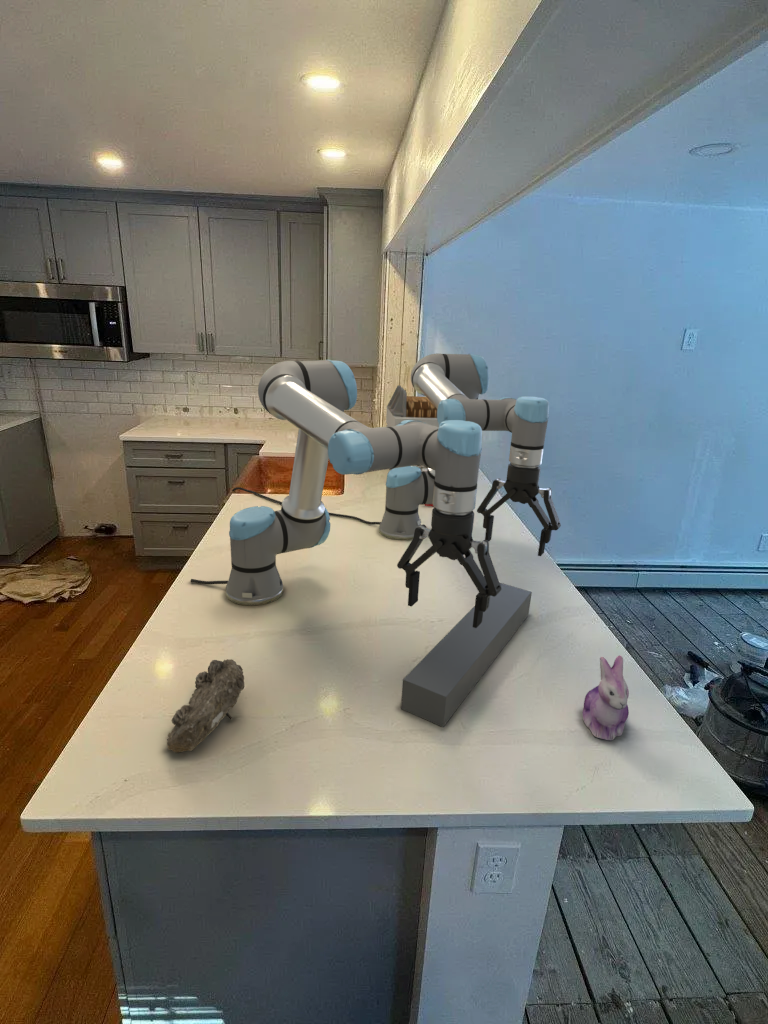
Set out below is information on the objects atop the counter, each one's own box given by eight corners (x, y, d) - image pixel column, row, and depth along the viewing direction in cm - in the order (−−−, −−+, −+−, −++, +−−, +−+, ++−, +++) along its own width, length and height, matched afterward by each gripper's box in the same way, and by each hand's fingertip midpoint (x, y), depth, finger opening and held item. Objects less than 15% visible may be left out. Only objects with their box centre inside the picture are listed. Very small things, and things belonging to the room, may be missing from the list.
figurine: (608, 750, 104) (623, 681, 99) (567, 715, 113) (579, 651, 107) (643, 734, 108) (659, 668, 103) (601, 702, 117) (614, 640, 112)
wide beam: (494, 604, 154) (497, 581, 152) (528, 615, 150) (531, 591, 148) (400, 708, 113) (402, 679, 110) (443, 727, 108) (446, 697, 106)
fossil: (192, 660, 117) (244, 628, 112) (224, 691, 120) (276, 661, 115) (142, 746, 98) (202, 712, 93) (182, 779, 101) (242, 748, 96)
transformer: (382, 463, 289) (386, 382, 275) (445, 464, 293) (451, 384, 279) (390, 482, 257) (394, 392, 243) (460, 483, 261) (468, 394, 247)
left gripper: (382, 500, 104) (378, 602, 111) (513, 531, 92) (499, 643, 99) (403, 490, 110) (397, 588, 117) (528, 518, 98) (513, 625, 105)
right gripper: (469, 458, 136) (461, 540, 143) (574, 477, 124) (560, 565, 131) (481, 452, 142) (472, 531, 149) (582, 470, 130) (568, 554, 137)
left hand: (444, 613), depth 108 cm, fingers open, 13 cm apart
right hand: (513, 547), depth 140 cm, fingers open, 13 cm apart
